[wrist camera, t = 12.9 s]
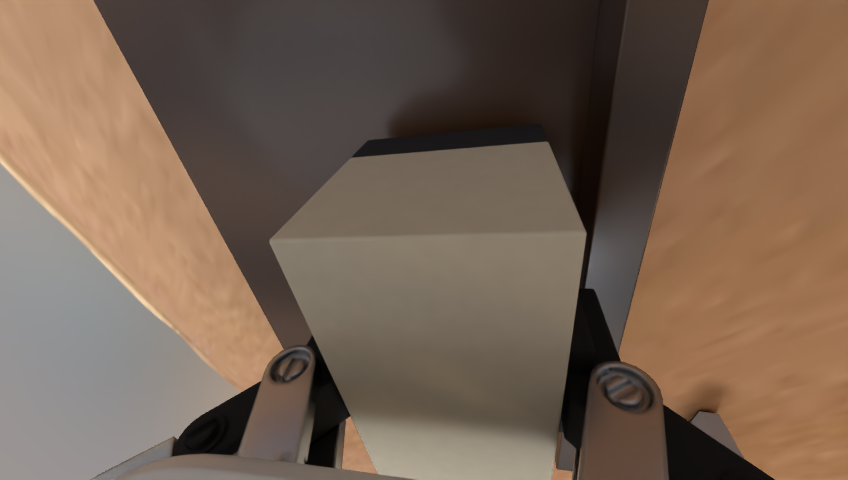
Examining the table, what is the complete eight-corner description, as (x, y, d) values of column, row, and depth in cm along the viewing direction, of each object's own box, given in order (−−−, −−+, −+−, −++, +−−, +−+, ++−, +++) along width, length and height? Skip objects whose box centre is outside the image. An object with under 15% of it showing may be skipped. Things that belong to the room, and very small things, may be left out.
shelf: (160, -66, 12) (-59, -120, 7) (644, -200, 9) (831, -467, 4) (338, 357, 25) (301, 440, 20) (566, 369, 22) (588, 473, 17)
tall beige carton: (367, 139, 10) (266, 240, 6) (541, 122, 9) (588, 231, 5) (417, 354, 15) (386, 494, 11) (530, 360, 14) (547, 518, 10)
